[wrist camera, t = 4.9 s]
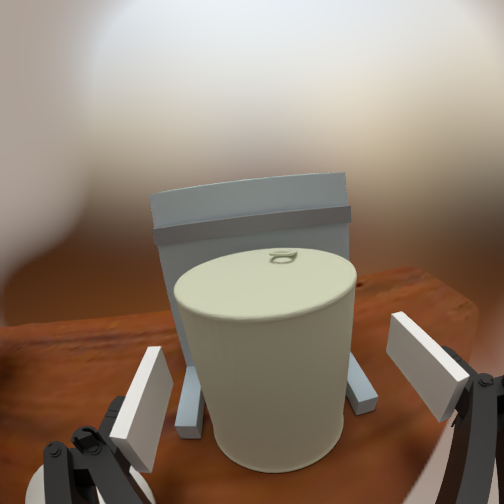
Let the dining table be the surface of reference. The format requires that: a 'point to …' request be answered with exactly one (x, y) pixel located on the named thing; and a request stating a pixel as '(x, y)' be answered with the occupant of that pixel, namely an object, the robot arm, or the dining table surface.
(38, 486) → the coaster
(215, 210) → the pale blue footed box
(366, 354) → the dining table surface
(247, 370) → the can
